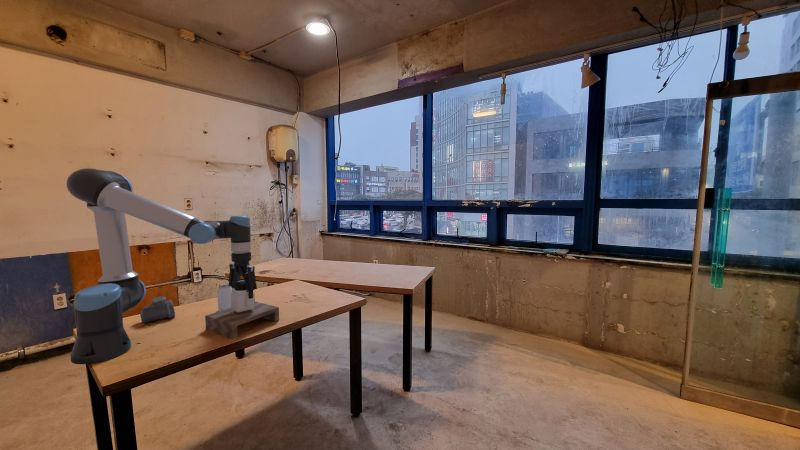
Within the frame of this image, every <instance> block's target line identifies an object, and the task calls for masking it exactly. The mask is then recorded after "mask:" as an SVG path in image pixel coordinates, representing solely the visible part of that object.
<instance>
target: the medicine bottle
mask: <svg viewBox="0 0 800 450" xmlns="http://www.w3.org/2000/svg"><path fill="white" fill-rule="evenodd" d="M234 285H235V292H232V293H231V308H232V309H233V310H235V311H236V312H242V311H246V310H251V309H254V308H255V302H256V301H255V300H256V299H255V292H254V291H253V305H251V306H248V307H246V291H247V288H246V285H245V282H244V279H243V280H240V281H238V282H236V283H235V284H234ZM249 288H250V287H249Z"/></svg>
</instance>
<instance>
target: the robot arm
mask: <svg viewBox="0 0 800 450" xmlns="http://www.w3.org/2000/svg"><path fill="white" fill-rule="evenodd" d="M66 188H67V190H68V192H69V193H70V195H72V196H73V197H74V198H76V199H77V200H79V201H82V202H85V203H86V207H87V209H89V210H90V211H92V213H93V216H94V223H95V224H94V225H95V230H96V236H97V238H96V239H97V243H98V251H99V258H100V266H101V271H102V276H101V277H100V278H98V279H97V283H98V284H94V285H92V286H87V287H85V288H82V289H80V290H79V291H78V292H76V293H75V295H74V300H73V301H74V302H73V308H74V318H75V330H76V331H75V332H76V338H75V341H74V345H73V347H72V349H71V353H70V362H71V363H72V364H74V365H88V364H94V363H95V364H96V363H99V362H103V361H107V360H109V359H110V360H111V359H113V358H117V357H118V356H121V355H123V354H125V353H127V352H128V351H130V349H131V348H132V342H131V338H130V336H129V335H128V333H127V332H126V330H125V328H124V318H123V314H124V313H126V312H127V311H129V310H132V309H133V308H135V307H136V306H138V305H139V304H140V303H141V301H143V299H144V298H145V297H146V292H147V289H146V285H145V283H144V282H143V281H141V280H140V277H139V273H138V272H136V271H134V270H133V263H132V254H131V249H130V242H129V233H128V226H127V219H126V215H129V216H131V217H133V218H137V219H139V220H141V221H143V222H144V221H145V222H147V223H149V224H153V225H154V226H157V227H160V228H163V229H166V230H168V231H170V232H173V233H176V234H179V235H181V236H184V237H186V238H189V239H190V240H191V242H193V243H195V244H199V245H203V244H208V243H210V242H212V241H214V240H217V239H218V240H222V239H223V240H224V239H230V251H231V253H230V254H231V255H230V256H231V258H230V259H231V262H233V263H230V264H229V265H228V266H229V274H228V276H229V277H228V285H229V286H231V288H232V292H235V285H234V284H235V283H236V282H238V281H241V277H242V279H243V280H244V282H245V285H246V288H247V291H246V307H248V306H251V305H253V292H254V290H257V289H258V287H257V286H258V285H257V280H256V272H255V268H256V267H255V265H252V266H251V265H250V261H252V252H251V251H252V248H251V247H252V246H251V245H252V243H251V242H252V241H251V240H252V239H251V236H252V235H251V220H250V217H249V216H248V215H230V217H229V220H202V219H200V218H196V217H194V216H192V215H190V214H187V213H184V212H182V211H180V210H177V209H174V208H172V207H170V206H167V205H165V204H162V203H160V202H157V201H154V200H152V199H150V198H147V197H144V196H142V195H140V194H138V193H134V192H133V185H132V183H131V181H130V180H129V179H128V178H127V177H126V176H124V175H123V174H121V173H118V172H116V171H112V170H103V169H97V168H87V167H86V168H80V169H77V170H75V171H73V172H72V173H71V174H69V175H68V177H67V179H66ZM249 287H250V288H249Z"/></svg>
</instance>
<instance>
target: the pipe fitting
mask: <svg viewBox="0 0 800 450" xmlns="http://www.w3.org/2000/svg"><path fill="white" fill-rule="evenodd" d="M166 298H167V297H166V296H158V297H154V298H153V299H152V300H151V304H149V305H145V306H144V307H143V309H142V310H141V311H140V312H139V316H140V321H141V323H143V324H147V323H150V322H151V323H152V322H153V321H156V320H159V319H164V318H168V319H169V318H170V319H171V318H172V319H173V318H175V317H176V312H175V306H174V303H173V301H172V300H171V299H168V300H167V299H166Z"/></svg>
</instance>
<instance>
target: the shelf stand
mask: <svg viewBox="0 0 800 450" xmlns="http://www.w3.org/2000/svg"><path fill="white" fill-rule="evenodd" d="M204 317H205V321H204V322H205V330H206V331H208V332H211V333H214V334H216V335H220V336H223V337H226V338H228V339H230V340H234V339H236V338H238V326H240V325H243V324H246V323H249V322H251V321H255V320H257V319H260V318H261V319H265V320H268V321H272V322H275V323H276V322H279V320H280V307H279V306H275V305H272V304H267V303H262V302H258V301H255V308H254V309H251V310H246V311H242V312H236V311H235V310H233V309H232V308H228V309H225V310H222V311H217V312H213V313H209V314H207V315H205V316H204Z"/></svg>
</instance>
